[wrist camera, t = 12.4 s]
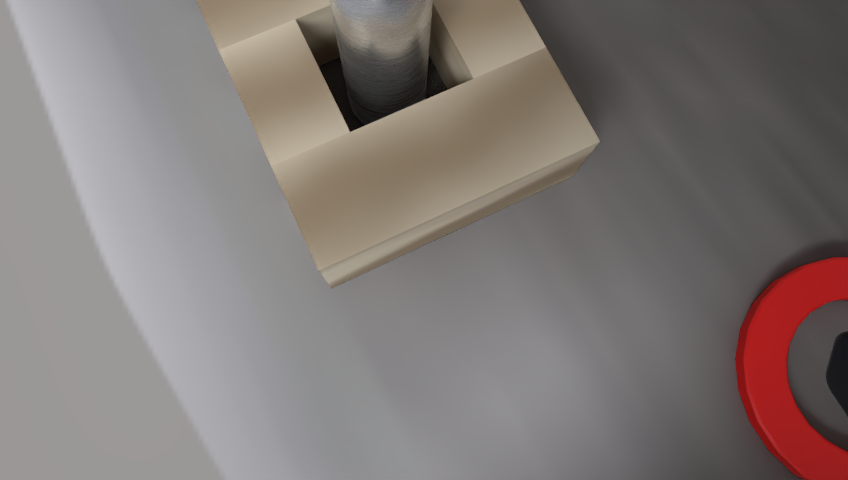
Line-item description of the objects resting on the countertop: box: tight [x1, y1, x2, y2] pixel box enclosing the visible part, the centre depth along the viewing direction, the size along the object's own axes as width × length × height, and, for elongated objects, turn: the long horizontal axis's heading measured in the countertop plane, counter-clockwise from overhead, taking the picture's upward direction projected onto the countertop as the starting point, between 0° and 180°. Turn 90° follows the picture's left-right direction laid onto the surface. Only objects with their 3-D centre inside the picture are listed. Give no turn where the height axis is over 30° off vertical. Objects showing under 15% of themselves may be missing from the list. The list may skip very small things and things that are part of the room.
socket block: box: [196, 0, 600, 288], centre depth 23 cm, size 12×10×4 cm
